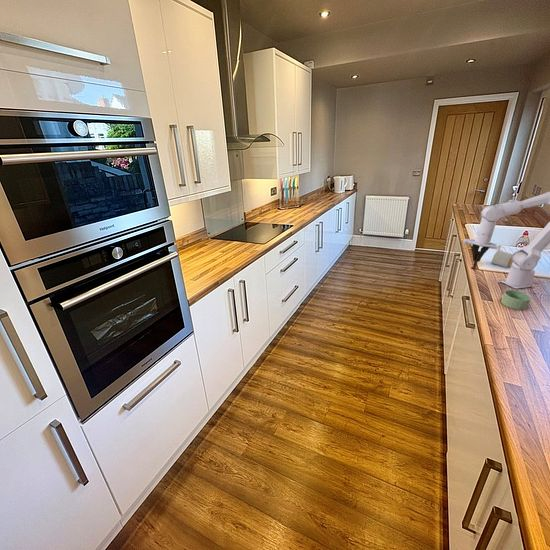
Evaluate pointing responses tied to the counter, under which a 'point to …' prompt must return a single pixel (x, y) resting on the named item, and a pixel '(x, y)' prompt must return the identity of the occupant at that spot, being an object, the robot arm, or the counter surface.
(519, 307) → the bowl
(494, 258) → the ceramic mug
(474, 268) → the muddler
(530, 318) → the counter surface
